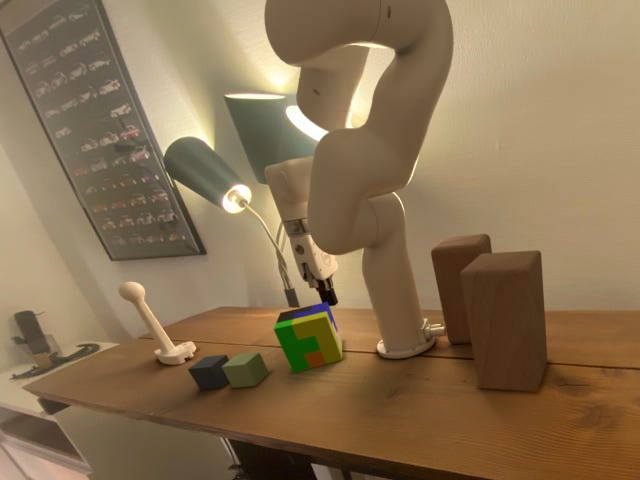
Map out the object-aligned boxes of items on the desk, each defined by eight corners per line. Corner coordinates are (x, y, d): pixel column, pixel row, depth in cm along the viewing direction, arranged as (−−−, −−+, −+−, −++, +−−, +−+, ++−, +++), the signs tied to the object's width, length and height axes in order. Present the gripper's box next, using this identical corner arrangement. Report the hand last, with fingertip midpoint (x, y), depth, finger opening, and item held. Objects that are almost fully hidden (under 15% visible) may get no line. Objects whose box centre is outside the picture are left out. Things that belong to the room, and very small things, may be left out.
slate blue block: (237, 374, 80) (226, 354, 78) (222, 387, 76) (210, 366, 74) (216, 376, 81) (204, 356, 79) (200, 389, 77) (187, 369, 74)
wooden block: (548, 361, 67) (541, 249, 57) (537, 393, 59) (527, 269, 49) (495, 359, 70) (480, 252, 61) (478, 389, 62) (458, 272, 53)
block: (494, 344, 76) (480, 244, 66) (447, 345, 78) (428, 249, 69) (501, 323, 84) (490, 232, 75) (459, 325, 87) (442, 237, 77)
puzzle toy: (341, 341, 88) (327, 301, 83) (342, 359, 80) (326, 316, 75) (297, 352, 86) (280, 312, 81) (293, 372, 77) (273, 329, 73)
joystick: (154, 360, 94) (104, 284, 85) (185, 346, 100) (142, 274, 90) (175, 366, 89) (125, 286, 79) (207, 351, 95) (163, 274, 85)
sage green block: (269, 372, 79) (259, 352, 77) (255, 385, 75) (244, 364, 72) (247, 374, 80) (236, 354, 77) (232, 387, 75) (221, 366, 73)
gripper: (303, 231, 75) (333, 315, 84) (333, 218, 88) (356, 292, 97) (269, 236, 76) (302, 319, 85) (303, 222, 88) (329, 295, 97)
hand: (331, 304), depth 91 cm, fingers closed
